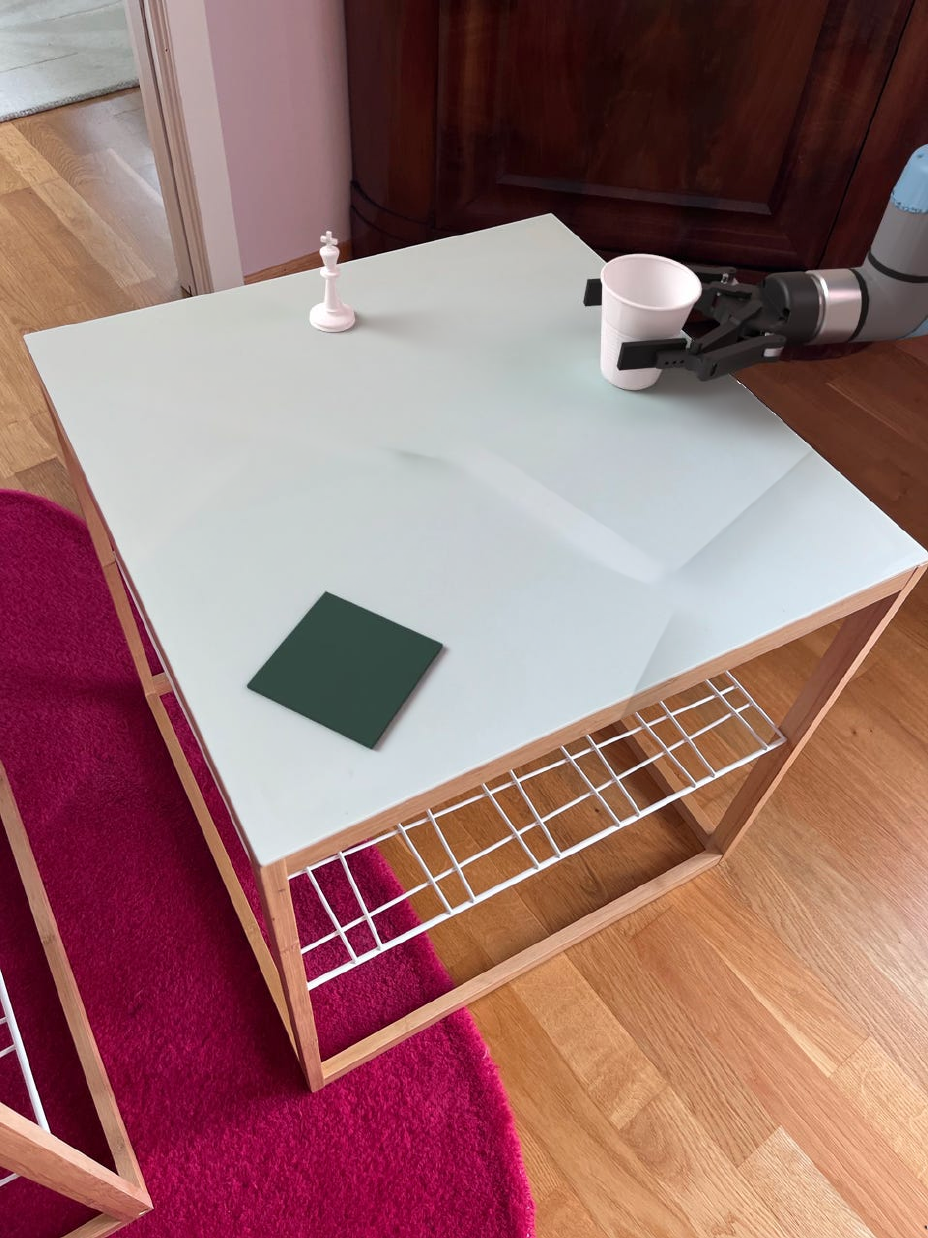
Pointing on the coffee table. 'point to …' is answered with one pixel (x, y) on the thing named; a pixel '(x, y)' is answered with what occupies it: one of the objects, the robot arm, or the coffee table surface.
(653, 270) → the cup
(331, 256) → the chess piece
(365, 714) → the mat
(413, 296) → the coffee table surface
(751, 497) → the coffee table surface
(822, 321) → the robot arm
